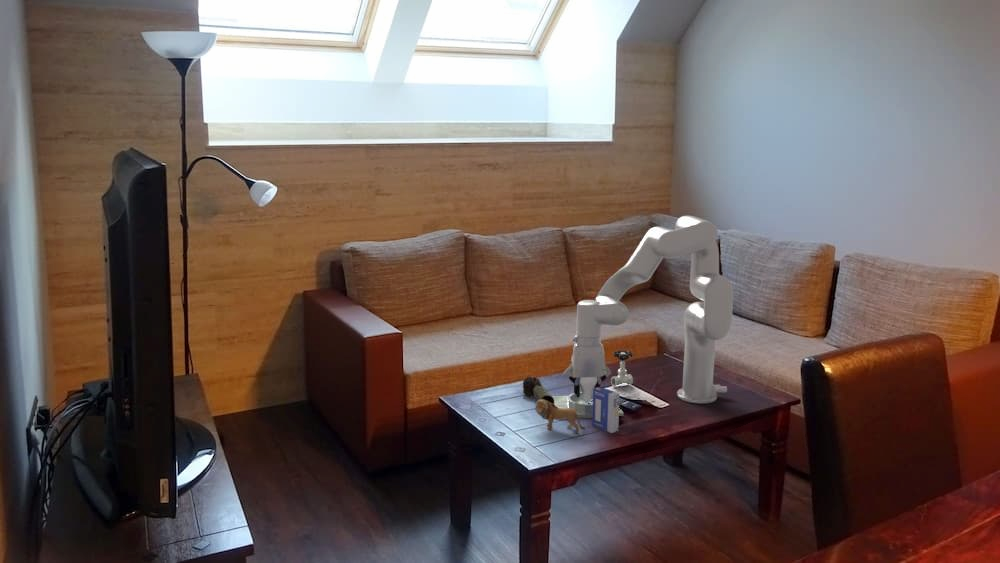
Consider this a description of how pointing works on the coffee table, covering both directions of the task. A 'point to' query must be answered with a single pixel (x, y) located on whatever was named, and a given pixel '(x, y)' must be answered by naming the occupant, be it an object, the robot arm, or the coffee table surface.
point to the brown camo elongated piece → (536, 389)
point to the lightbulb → (587, 387)
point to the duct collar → (577, 405)
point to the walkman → (605, 409)
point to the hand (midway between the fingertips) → (587, 394)
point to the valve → (622, 369)
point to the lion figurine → (556, 414)
